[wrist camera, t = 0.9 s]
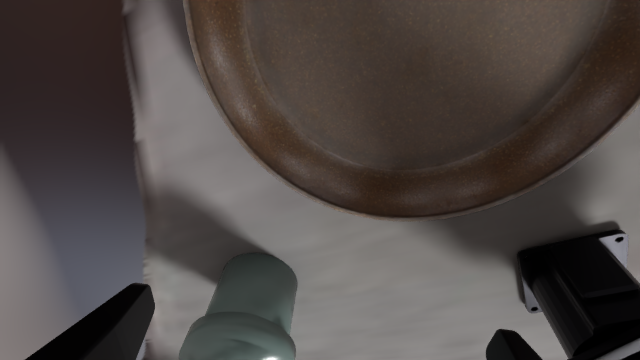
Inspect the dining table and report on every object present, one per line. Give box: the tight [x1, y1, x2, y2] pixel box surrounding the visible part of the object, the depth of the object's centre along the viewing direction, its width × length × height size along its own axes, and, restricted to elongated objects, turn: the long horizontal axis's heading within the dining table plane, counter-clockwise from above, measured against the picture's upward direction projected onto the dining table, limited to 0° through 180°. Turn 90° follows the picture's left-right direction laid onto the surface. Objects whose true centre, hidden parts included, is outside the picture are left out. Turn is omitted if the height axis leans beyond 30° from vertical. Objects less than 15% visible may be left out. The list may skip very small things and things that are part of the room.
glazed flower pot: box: [179, 253, 297, 360], centre depth 25 cm, size 7×7×7 cm
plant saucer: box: [183, 0, 640, 221], centre depth 16 cm, size 21×21×3 cm
